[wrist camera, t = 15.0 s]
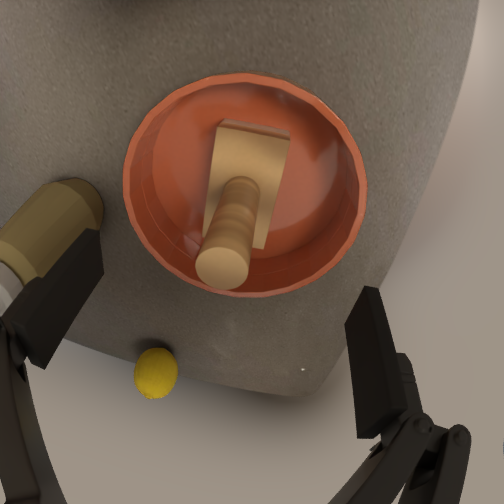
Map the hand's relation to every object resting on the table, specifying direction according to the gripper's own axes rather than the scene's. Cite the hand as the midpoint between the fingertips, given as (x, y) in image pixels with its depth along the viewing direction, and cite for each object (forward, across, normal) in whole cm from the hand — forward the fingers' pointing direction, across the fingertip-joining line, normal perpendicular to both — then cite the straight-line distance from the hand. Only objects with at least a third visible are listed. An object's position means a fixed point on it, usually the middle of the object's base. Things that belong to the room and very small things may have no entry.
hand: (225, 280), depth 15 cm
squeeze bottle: (+14, -17, -6) cm, 22 cm away
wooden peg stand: (+13, 0, 0) cm, 13 cm away
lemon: (+14, -7, -26) cm, 30 cm away
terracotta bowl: (+14, 0, 0) cm, 14 cm away
